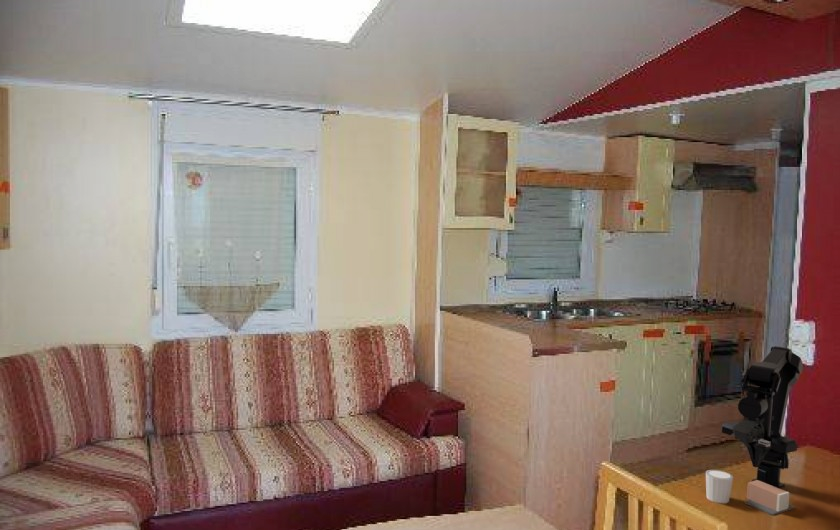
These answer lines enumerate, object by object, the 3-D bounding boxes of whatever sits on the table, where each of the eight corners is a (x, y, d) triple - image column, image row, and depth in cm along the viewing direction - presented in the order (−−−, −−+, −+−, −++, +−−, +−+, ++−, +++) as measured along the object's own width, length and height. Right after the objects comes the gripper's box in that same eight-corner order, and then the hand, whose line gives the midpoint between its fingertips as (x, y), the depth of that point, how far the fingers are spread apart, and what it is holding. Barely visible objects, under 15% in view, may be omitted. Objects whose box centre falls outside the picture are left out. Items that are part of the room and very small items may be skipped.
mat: (765, 496, 178) (766, 495, 178) (794, 508, 172) (794, 506, 172) (743, 503, 174) (743, 501, 174) (772, 515, 167) (772, 513, 167)
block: (757, 479, 178) (789, 492, 170) (756, 495, 178) (788, 508, 170) (747, 482, 176) (779, 495, 168) (746, 498, 176) (778, 511, 168)
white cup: (715, 505, 172) (717, 480, 171) (698, 494, 178) (700, 470, 178) (737, 503, 173) (738, 478, 173) (719, 492, 180) (720, 468, 180)
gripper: (710, 405, 179) (706, 459, 180) (775, 425, 163) (770, 484, 164) (735, 401, 184) (731, 453, 185) (800, 419, 168) (795, 477, 169)
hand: (755, 466), depth 176 cm, fingers closed
